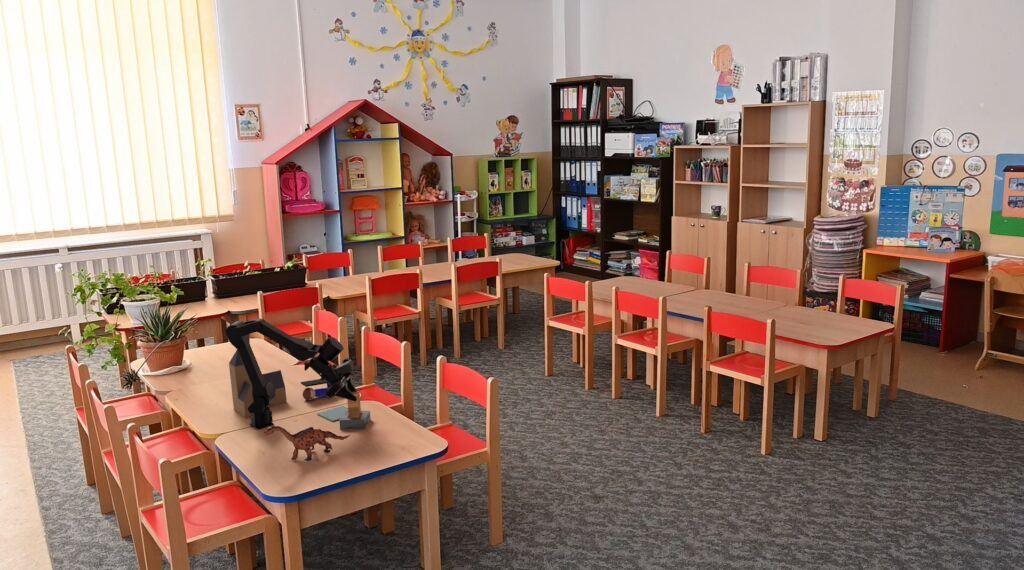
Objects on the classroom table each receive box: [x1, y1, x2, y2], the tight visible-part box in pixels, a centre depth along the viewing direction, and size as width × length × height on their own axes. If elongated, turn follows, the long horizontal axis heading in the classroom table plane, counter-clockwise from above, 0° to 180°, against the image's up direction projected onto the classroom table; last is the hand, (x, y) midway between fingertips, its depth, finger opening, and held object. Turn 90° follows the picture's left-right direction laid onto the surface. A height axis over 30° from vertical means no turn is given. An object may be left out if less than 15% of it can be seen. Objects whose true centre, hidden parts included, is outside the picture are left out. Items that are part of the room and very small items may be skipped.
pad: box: [316, 405, 348, 423], centre depth 298 cm, size 11×11×1 cm
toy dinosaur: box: [263, 425, 351, 463], centre depth 258 cm, size 8×30×15 cm, turn 140°
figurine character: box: [300, 378, 330, 401], centre depth 317 cm, size 7×8×15 cm
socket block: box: [338, 410, 372, 430], centre depth 287 cm, size 9×9×4 cm
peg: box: [346, 391, 362, 418], centre depth 286 cm, size 4×4×9 cm
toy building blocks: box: [228, 349, 287, 419], centre depth 305 cm, size 12×19×25 cm
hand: (357, 398), depth 285 cm, fingers closed on peg, 4 cm apart
